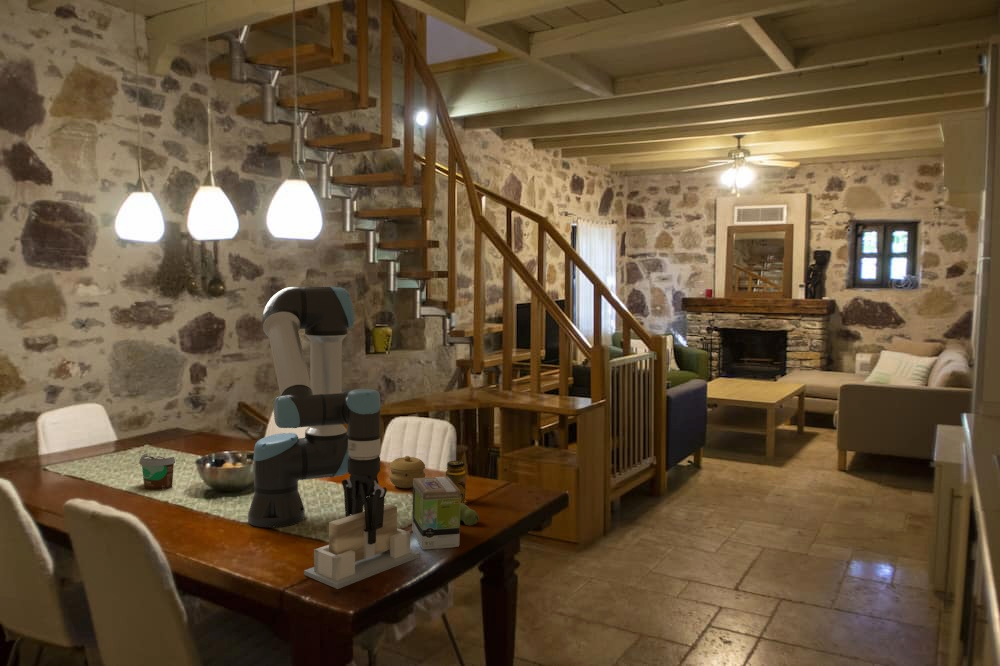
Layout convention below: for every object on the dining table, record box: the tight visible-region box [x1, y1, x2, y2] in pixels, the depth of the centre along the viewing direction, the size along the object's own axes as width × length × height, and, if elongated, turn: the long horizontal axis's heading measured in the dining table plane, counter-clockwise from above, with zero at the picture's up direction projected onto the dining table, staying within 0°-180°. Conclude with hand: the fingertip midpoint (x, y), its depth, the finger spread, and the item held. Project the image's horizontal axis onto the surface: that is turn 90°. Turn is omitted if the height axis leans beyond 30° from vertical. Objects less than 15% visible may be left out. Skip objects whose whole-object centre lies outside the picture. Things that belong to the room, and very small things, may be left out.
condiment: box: [445, 460, 467, 503], centre depth 226 cm, size 7×8×12 cm
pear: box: [460, 503, 480, 527], centre depth 208 cm, size 6×5×10 cm
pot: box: [388, 455, 426, 489], centre depth 242 cm, size 12×12×10 cm
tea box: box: [411, 476, 461, 551], centre depth 193 cm, size 15×10×15 cm
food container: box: [138, 453, 176, 491], centre depth 236 cm, size 12×6×10 cm, turn 68°
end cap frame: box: [303, 527, 421, 590], centre depth 175 cm, size 12×25×6 cm, turn 141°
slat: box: [328, 503, 398, 562], centre depth 175 cm, size 3×18×10 cm, turn 141°
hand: (363, 554), depth 175 cm, fingers closed on slat, 3 cm apart
